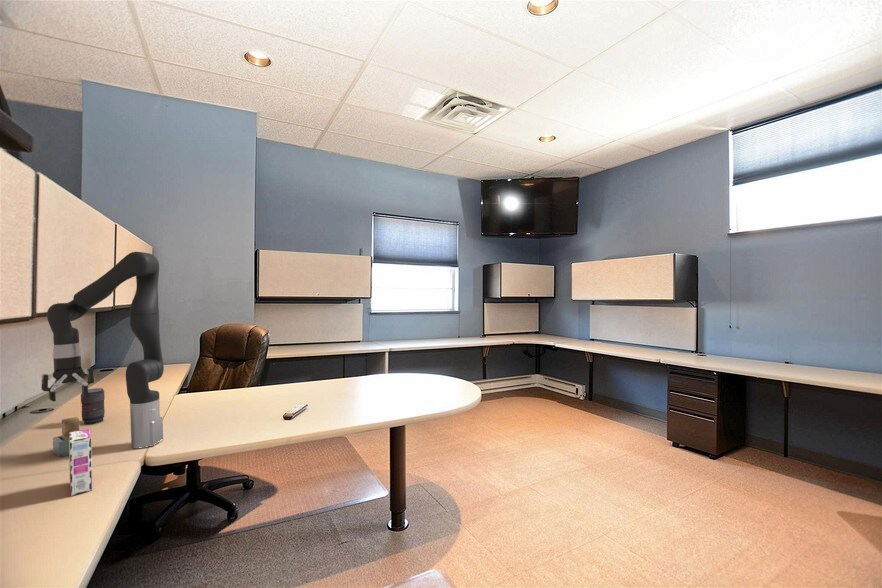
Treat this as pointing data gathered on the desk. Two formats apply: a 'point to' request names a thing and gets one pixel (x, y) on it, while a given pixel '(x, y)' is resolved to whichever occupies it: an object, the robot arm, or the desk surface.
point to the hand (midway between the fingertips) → (69, 398)
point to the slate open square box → (60, 446)
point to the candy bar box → (80, 462)
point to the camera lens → (93, 406)
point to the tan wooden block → (69, 427)
